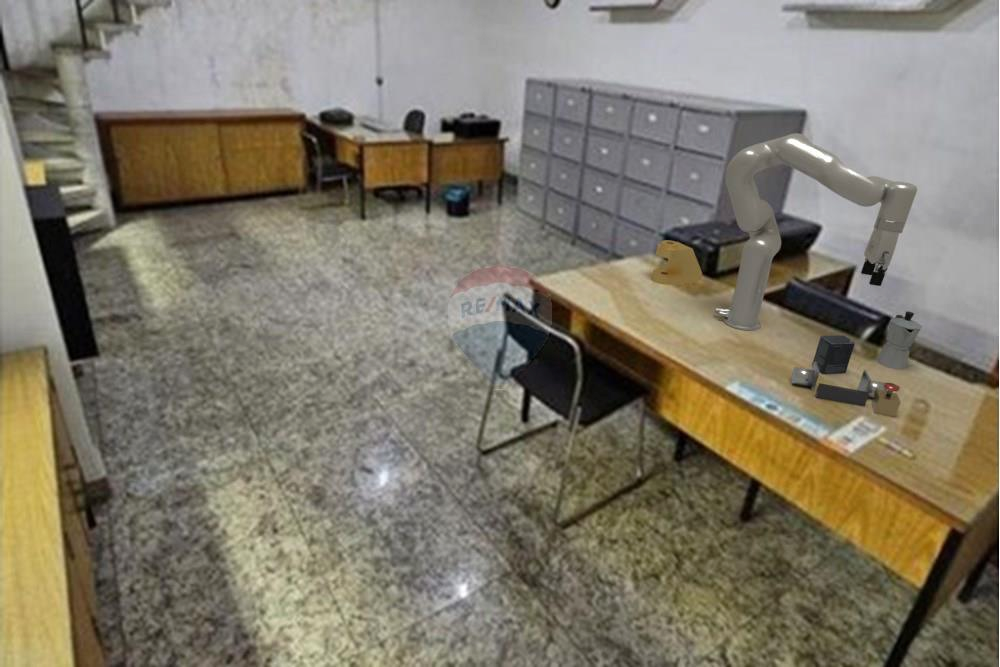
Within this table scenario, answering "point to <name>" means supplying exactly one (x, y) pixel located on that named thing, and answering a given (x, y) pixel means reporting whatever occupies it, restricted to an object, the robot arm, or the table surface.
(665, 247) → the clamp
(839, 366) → the box
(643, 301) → the table surface
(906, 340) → the coffee maker
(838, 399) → the dark grey bracket shape
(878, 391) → the valve
